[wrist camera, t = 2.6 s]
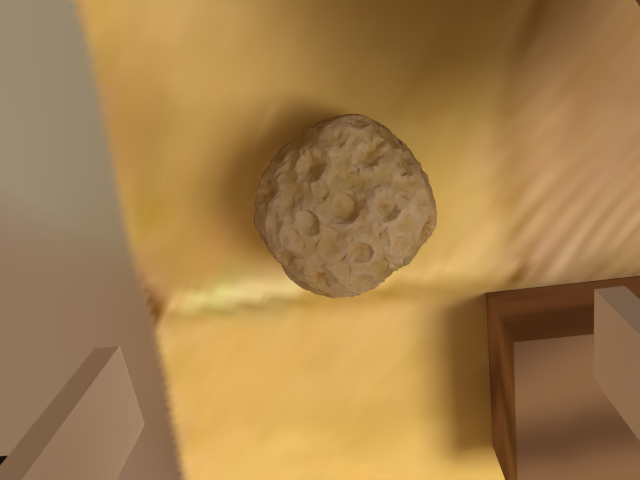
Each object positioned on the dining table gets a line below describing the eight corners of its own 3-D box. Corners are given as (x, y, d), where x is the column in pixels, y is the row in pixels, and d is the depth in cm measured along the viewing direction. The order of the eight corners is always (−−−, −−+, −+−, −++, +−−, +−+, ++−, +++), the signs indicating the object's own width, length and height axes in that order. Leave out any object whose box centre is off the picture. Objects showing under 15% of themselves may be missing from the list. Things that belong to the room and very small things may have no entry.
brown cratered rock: (320, 287, 35) (315, 351, 28) (237, 166, 33) (208, 202, 26) (450, 215, 33) (479, 264, 26) (372, 80, 31) (381, 93, 24)
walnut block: (486, 293, 35) (513, 342, 29) (685, 271, 34) (753, 318, 28) (493, 446, 39) (518, 515, 33) (671, 431, 38) (728, 500, 32)
